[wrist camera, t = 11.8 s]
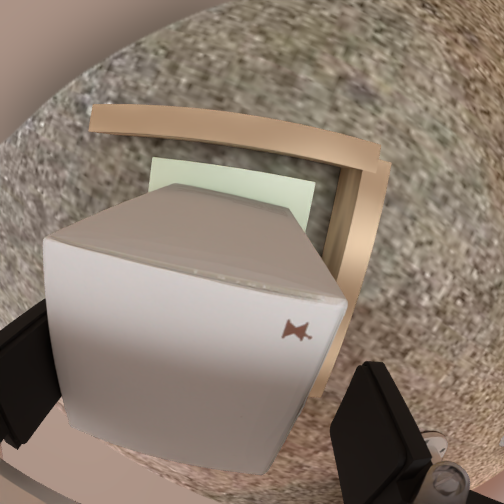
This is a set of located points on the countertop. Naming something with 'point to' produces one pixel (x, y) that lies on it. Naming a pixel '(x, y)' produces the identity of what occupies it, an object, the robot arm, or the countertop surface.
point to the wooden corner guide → (294, 145)
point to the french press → (502, 442)
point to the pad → (237, 184)
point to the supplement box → (189, 325)
